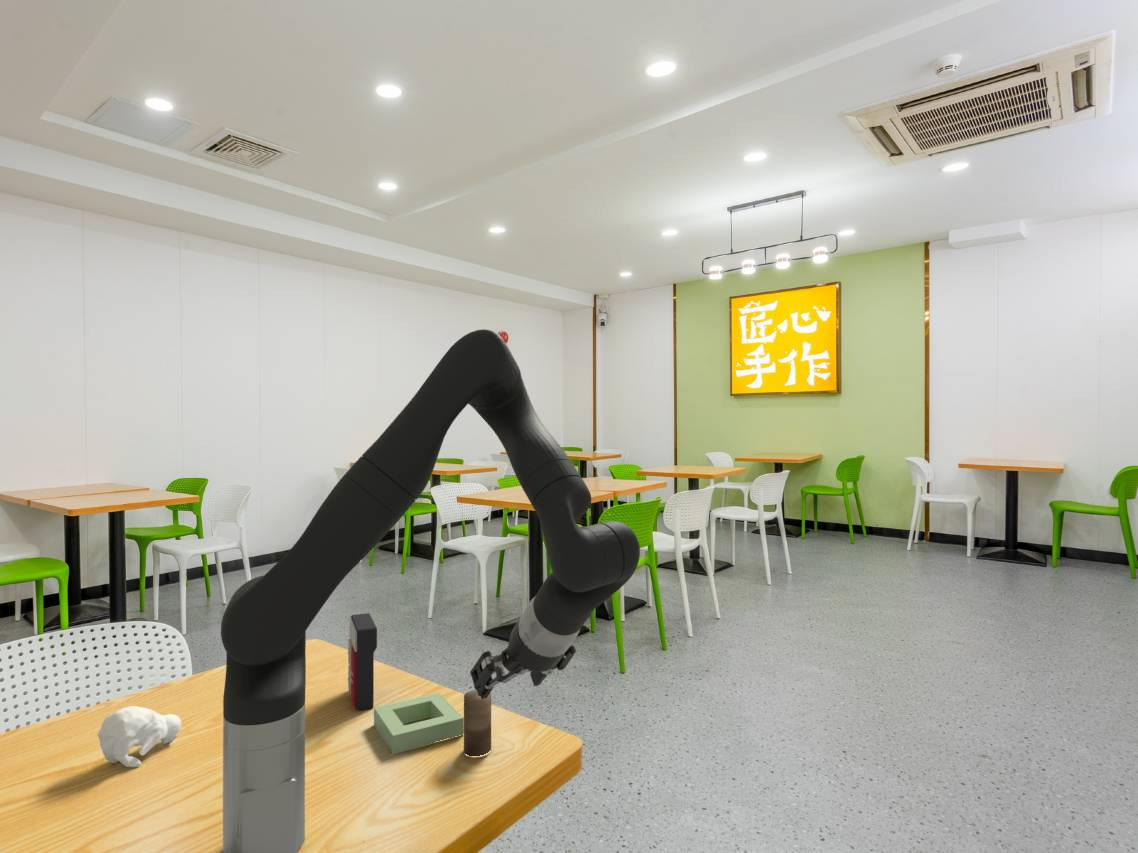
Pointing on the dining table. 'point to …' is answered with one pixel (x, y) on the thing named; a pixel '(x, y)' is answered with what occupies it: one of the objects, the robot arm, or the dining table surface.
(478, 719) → the walnut pin
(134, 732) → the white animal figurine
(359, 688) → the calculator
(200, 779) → the dining table surface
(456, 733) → the socket block
